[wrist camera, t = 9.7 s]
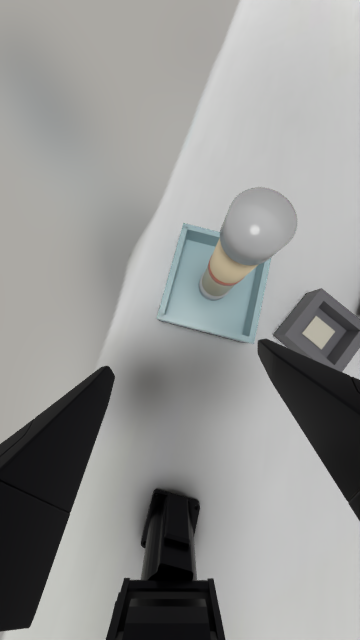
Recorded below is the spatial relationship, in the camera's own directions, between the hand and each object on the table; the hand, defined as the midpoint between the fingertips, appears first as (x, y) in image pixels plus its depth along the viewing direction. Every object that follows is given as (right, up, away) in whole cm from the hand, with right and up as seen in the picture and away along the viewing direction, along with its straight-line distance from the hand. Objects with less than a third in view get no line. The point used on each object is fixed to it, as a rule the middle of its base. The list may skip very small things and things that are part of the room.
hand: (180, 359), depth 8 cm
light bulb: (+5, +8, +14) cm, 17 cm away
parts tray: (+5, +8, +14) cm, 17 cm away
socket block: (+21, 0, +14) cm, 25 cm away
